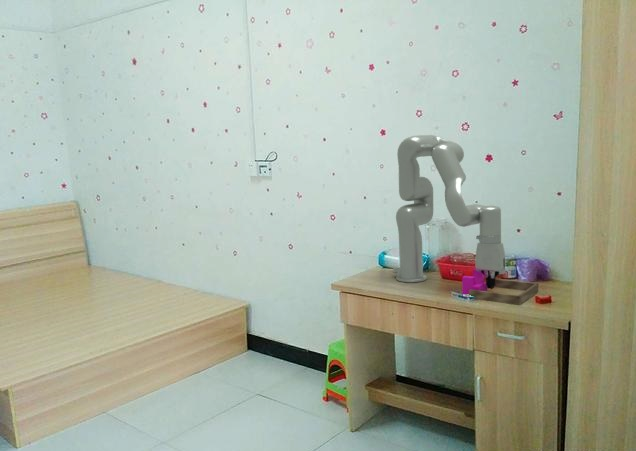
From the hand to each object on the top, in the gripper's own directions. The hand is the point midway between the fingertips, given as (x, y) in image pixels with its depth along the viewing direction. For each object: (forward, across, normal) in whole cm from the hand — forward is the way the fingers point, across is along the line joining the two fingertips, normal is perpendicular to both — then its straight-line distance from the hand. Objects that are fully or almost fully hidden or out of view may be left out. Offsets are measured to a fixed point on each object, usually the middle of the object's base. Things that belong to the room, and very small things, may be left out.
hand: (490, 287), depth 208 cm
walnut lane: (+2, +5, 0) cm, 5 cm away
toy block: (+2, -5, -2) cm, 6 cm away
